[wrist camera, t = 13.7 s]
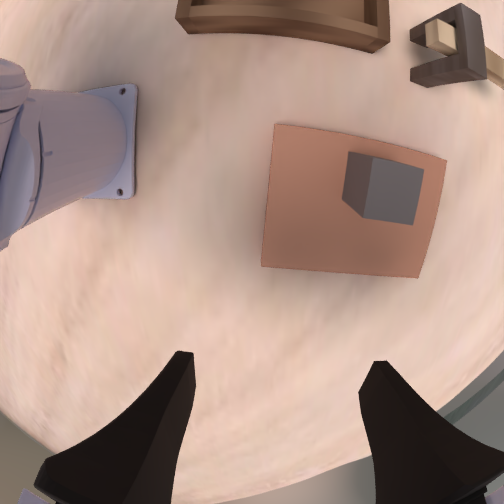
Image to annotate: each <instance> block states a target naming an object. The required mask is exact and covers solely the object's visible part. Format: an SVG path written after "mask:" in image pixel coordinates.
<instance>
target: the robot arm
mask: <svg viewBox="0 0 504 504" xmlns="http://www.w3.org/2000/svg"><path fill="white" fill-rule="evenodd" d="M30 88H31V85H30V82H29V80H28V79H27V77H26V74H25V71H24V69H23V68H22V67H21V66H19V65H17V64H15V63H13V62H11V61H8V60H5V59H2V58H0V251H1V250H3V249H4V248H6V247H8V244H9V240H10V237H11V236H12V235H13V234H14V233H15V232H17V231H18V230H20V229H22V228H23V227H25V226H27V225H29V224H31V223H33V222H34V221H36V220H38V219H40V218H42V217H44V216H46V215H48V214H50V213H52V212H54V211H56V210H58V209H60V208H62V207H64V206H66V205H68V204H70V203H72V202H74V201H76V200H78V199H81V198H89V199H130V198H131V197H133V195H134V146H135V121H136V105H137V93H138V88H137V86H136V85H134V84H123V85H116V86H109V87H103V88H98V89H92V90H87V91H82V92H78V93H74V92H65V91H54V90H39V89H30ZM123 89H126V92H125V93H124V94H123V95H122V90H123ZM119 189H122V190H123V195H122V194H120V192H119ZM195 389H196V379H195V367H194V354H193V353H191V352H184V351H177V352H175V354H174V355H173V357H172V358H171V359H170V361H169V362H168V363H167V365H166V366H165V367H164V369H163V370H162V371H161V372H160V374H159V375H158V376H157V377H156V378H155V380H154V381H153V382H152V383H151V384H150V385H149V387H148V388H147V389H146V390H145V391H144V392H143V393H142V394H141V395H140V396H139V397H138V398H137V399H136V400H135V401H134V402H133V403H132V404H131V405H130V406H129V407H128V408H127V409H126V410H125V411H124V412H123V413H121V414H120V415H119V416H118V417H117V418H115V419H114V420H113V421H112V422H110V423H109V424H108V425H106V426H105V427H104V428H102V429H101V430H100V431H98V432H97V433H95V434H94V435H92V436H90V437H89V438H87V439H85V440H84V441H82V442H80V443H78V444H77V445H75V446H73V447H71V448H69V449H67V450H65V451H62V452H60V453H58V454H56V455H53V456H51V457H49V458H47V459H45V461H44V463H43V465H42V466H41V468H40V470H39V473H38V475H37V477H36V480H35V483H34V487H35V488H36V489H38V490H39V491H41V492H42V493H44V494H45V495H47V496H48V497H50V498H51V499H53V500H55V501H56V504H171V497H172V490H173V483H174V476H175V470H176V464H177V459H178V455H179V451H180V447H181V444H182V441H183V437H184V434H185V431H186V427H187V424H188V421H189V417H190V414H191V410H192V406H193V401H194V395H195ZM358 393H359V401H360V409H361V414H362V418H363V422H364V426H365V430H366V433H367V437H368V441H369V445H370V449H371V453H372V457H373V462H374V472H375V485H376V504H504V485H503V486H502V487H500V488H499V489H497V490H496V491H494V492H493V493H491V494H490V495H488V496H487V497H484V493H485V492H487V488H486V485H488V484H489V483H490V482H492V481H493V480H495V479H496V478H497V477H499V476H500V475H501V474H502V473H504V452H502V451H500V450H497V449H495V448H492V447H489V446H487V445H485V444H483V443H481V442H479V441H477V440H475V439H473V438H471V437H470V436H468V435H466V434H465V433H463V432H462V431H460V430H459V429H457V428H455V427H454V426H453V425H452V424H450V423H449V422H448V421H446V420H445V419H444V418H443V417H441V416H440V415H439V414H438V413H437V412H436V411H435V410H434V409H433V408H431V407H430V406H429V405H428V404H427V403H426V402H425V401H424V400H423V399H422V398H421V397H420V396H419V395H418V394H417V393H416V392H415V391H414V389H413V388H412V387H411V386H410V385H409V384H408V383H407V382H406V381H405V380H404V379H403V377H402V376H401V375H400V374H399V373H398V372H397V371H396V370H395V369H394V368H393V367H392V366H391V365H390V363H389V362H388V361H374V362H373V364H372V367H371V369H370V371H369V373H368V375H367V377H366V379H365V381H364V382H363V384H362V386H361V388H360V390H359V392H358ZM17 504H50V503H48V502H46V501H45V500H43V499H41V498H40V497H38V496H36V495H35V494H33V493H32V492H30V491H28V490H27V489H25V488H24V489H23V491H22V493H21V496H20V498H19V501H18V503H17Z"/></svg>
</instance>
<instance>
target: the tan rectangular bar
mask: <svg viewBox="0 0 504 504" xmlns="http://www.w3.org/2000/svg"><path fill="white" fill-rule="evenodd" d="M425 31H426V46H427V47H429V48H431V49H434V50H436V51H438V52H440V53H442V54H444V55H446V56H448V57H449V56H452V55H456V54H459V52H458V39H457V30H456V28H454V27H453V26H451V25H449V24H447V23H445V22H443V21H441V20H439V19H435V20H433V21H431V22H429V23H427V24H425ZM485 54H486V66H487V79H489V80H490V81H492V82H493V83H495V84H496V85H498V86H499V87H501V88H502V89H504V59H503V58H501V57H500V56H498V55H497V54H496V53H494V52H493V51H491V50H490V49H489V48H487V47H486V46H485Z"/></svg>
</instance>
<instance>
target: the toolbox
mask: <svg viewBox="0 0 504 504" xmlns="http://www.w3.org/2000/svg"><path fill="white" fill-rule="evenodd" d="M175 19H176V20H177V21H178V22H179V24H180V25H181V26H182V27H183V29H184V30H185V31H186V32H187V33H188V34H198V33H249V34H265V35H277V36H286V37H294V38H301V39H308V40H314V41H320V42H325V43H330V44H335V45H340V46H344V47H349V48H353V49H357V50H361V51H364V52H368V53H374V52H375V51H377V50H379V49H380V48H382V47H383V46H385V45H386V44H388V43H390V16H389V0H178V5H177V10H176V16H175ZM435 19H439V20H441V21H443V22H445V23H447V24H449V25H451V26H453V27H454V28H456V30H457V39H458V52H459V54H456V55H452V56H449V57H445V58H442V59H439V60H435V61H432V62H429V63H426V64H423V65H420V66H417V67H414V68H411V71H410V81H411V82H414V83H417V84H419V85H422V86H424V87H427V88H428V87H434V86H439V85H445V84H452V83H458V82H466V81H474V80H483V79H487V66H486V54H485V44H484V37H483V30H482V24H481V18H480V15H479V14H478V13H476V12H475V11H473V10H472V9H470V8H468V7H467V6H465V5H464V4H462V3H459V4H457V5H455V6H453V7H451V8H449V9H447V10H445V11H443V12H441V13H439V14H437V15H435V16H434V17H432V18H430V19H428V20H426V21H424V22H423V23H421V24H419V25H417V26H416V27H414V28H412V29H410V41H412V42H415V43H417V44H420V45H422V46H424V47H427V46H426V31H425V24H427V23H429V22H431V21H433V20H435ZM427 48H428V47H427Z"/></svg>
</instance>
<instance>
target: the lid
mask: <svg viewBox="0 0 504 504" xmlns="http://www.w3.org/2000/svg"><path fill="white" fill-rule="evenodd" d="M446 163H447V160H444V159H441V158H438V157H434V156H431V155H428V154H425V153H421V152H418V151H414V150H411V149H407V148H404V147H400V146H396V145H392V144H388V143H384V142H380V141H375V140H371V139H366V138H362V137H357V136H352V135H347V134H341V133H336V132H330V131H324V130H318V129H311V128H304V127H296V126H288V125H279V124H275V125H274V135H273V146H272V156H271V167H270V177H269V187H268V198H267V208H266V218H265V228H264V237H263V247H262V257H261V266H263V267H275V268H286V269H299V270H311V271H324V272H336V273H350V274H363V275H377V276H391V277H406V278H418V277H419V274H420V271H421V268H422V265H423V262H424V259H425V256H426V252H427V249H428V246H429V242H430V238H431V235H432V231H433V227H434V223H435V219H436V215H437V211H438V206H439V202H440V197H441V192H442V187H443V181H444V176H445V170H446Z"/></svg>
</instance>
